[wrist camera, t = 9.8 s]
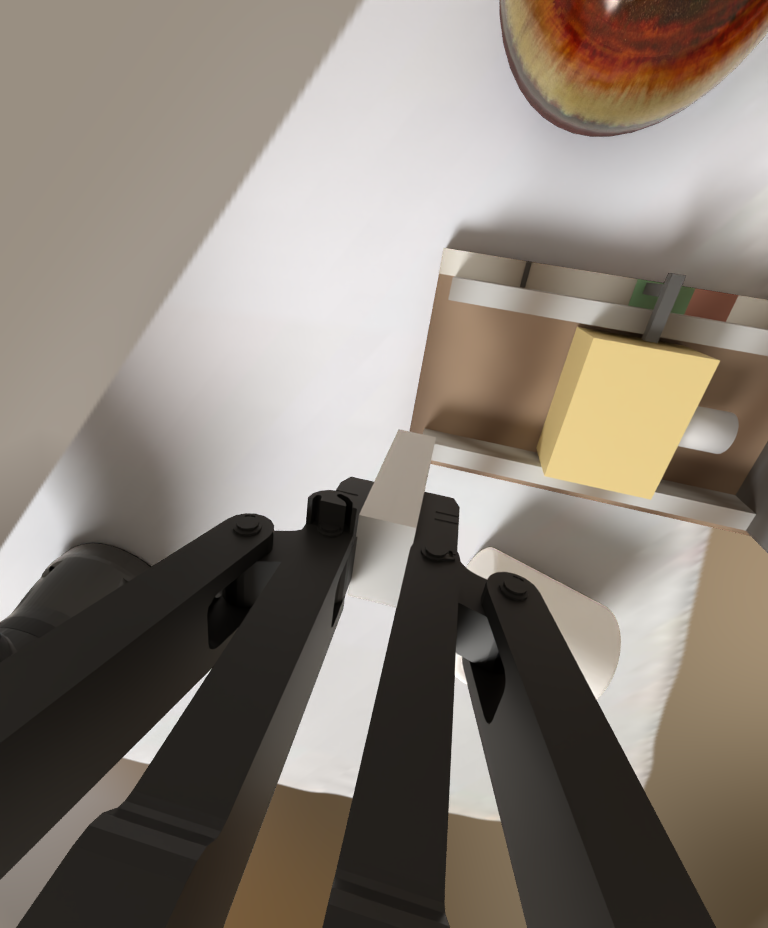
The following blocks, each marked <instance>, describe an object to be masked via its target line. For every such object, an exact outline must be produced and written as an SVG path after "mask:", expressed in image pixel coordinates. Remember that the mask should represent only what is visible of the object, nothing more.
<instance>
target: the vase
mask: <svg viewBox="0 0 768 928" xmlns="http://www.w3.org/2000/svg"><path fill="white" fill-rule="evenodd" d="M500 22H501V29H502V37H503V43H504V48H505V51H506V55H507V58H508V62H509V65H510V69H511V71H512V73H513V75H514V78H515V80H516V82H517V84H518V86H519V88H520V90H521V92H522V93H523V95H524V96H525V98H526V99H527V100H528V102H529V103H530V105H531V106H532V107H533V108H534V109H535V110H536V111H537V112H538V113H539V114H540V115H541V116H542V117H543V118H545V119H546V120H548V121H549V122H551V123H552V124H554V125H556V126H557V127H559V128H562V129H564V130H567V131H569V132H572V133H574V134H580V135H585V136H590V137H607V136H615V135H621V134H626V133H632V132H635V131H638V130H641V129H644V128H646V127H649V126H652V125H655V124H657V123H659V122H661V121H663V120H665V119H667V118H669V117H671V116H673V115H675V114H677V113H679V112H681V111H682V110H684V109H685V108H687V107H688V106H690V105H691V104H693V103H694V102H695V101H697V100H698V99H700V98H701V97H703V96H704V95H706V94H707V93H708V92H709V91H711V90H712V89H713V88H714V87H715V86H717V85H718V84H719V83H720V82H721V81H722V80H723V79H724V78H726V77H727V76H728V75H729V74H730V73H731V72H732V71H733V70H735V69H736V68H737V67H738V65H739V64H740V63H741V62H742V61H743V60H744V59H745V58H746V57H747V56H748V55H749V54H750V52H751V51H752V50H753V49H754V48H755V47H756V46H757V45H758V44H759V43H760V41H761V40H762V39H763V38H764V37H765V35H766V34H767V33H768V0H500Z"/></svg>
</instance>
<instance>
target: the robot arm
mask: <svg viewBox="0 0 768 928" xmlns="http://www.w3.org/2000/svg"><path fill="white" fill-rule="evenodd" d="M435 440H436V437H433V436H428V435H423V434H418V433H413V432H409V431H404V430H398V432H397V434H396V436H395V438H394V441H393V443H392V445H391V447H390V449H389V451H388V454H387V456H386V458H385V460H384V462H383V464H382V466H381V469H380V471H379V473H378V475H377V477H376V479H375V482H373V481H368V480H364V479H359V478H354V477H350V478H348V479H346V480H344V481H342V482H341V483H340V485H339V486H338V488H337V489H336V491H333V490H325V491H319V492H316V493H313V494H312V495H311V496H309V497H308V505H307V517H306V525H305V526H304V528H303V529H302V530H297V531H274V525H273V523H272V521H271V520H270V519H268V518H266V517H265V516H262V515H258V514H240V515H235V516H233V517H231V518H228V519H227V520H225V521H223V522H222V523H220V524H219V525H217V526H216V527H214V528H212V529H211V530H209V531H208V532H206V533H204V534H203V535H201V536H200V537H198V538H197V539H195V540H193V541H192V542H190V543H189V544H187V545H185V546H184V547H182V548H181V549H179V550H178V551H176V552H174V553H173V554H171V555H170V556H168V557H167V558H165V559H163V560H162V561H160V562H159V563H157V564H155V565H154V566H152V567H150V566H149V565H147V564H146V563H145V562H143V561H142V560H140V559H139V558H137V557H135V556H134V555H132V554H130V553H128V552H126V551H124V550H121V549H119V548H116V547H113V546H109V545H104V544H97V543H89V544H82V545H78V546H76V547H74V548H72V549H70V550H69V551H67V552H66V553H65V554H63V555H62V556H60V557H59V558H57V559H56V560H55V561H53V562H52V563H51V564H50V565H49V566H48V567H47V569H46V570H45V571H44V573H43V574H42V577H41V578H40V579H39V580H38V581H37V582H36V583H35V585H34V586H33V587H32V588H31V589H30V591H29V592H28V593H27V594H26V596H25V597H24V598H23V599H22V601H21V602H20V603H19V605H18V606H17V607H16V608H15V610H14V611H13V612H12V613H11V614H10V615H9V616H8V617H7V618H5V619H4V620H3V621H2V622H0V879H1V878H2V877H3V876H4V875H5V874H6V873H7V872H8V871H9V870H10V869H11V868H12V867H13V866H14V865H15V864H16V863H17V862H18V861H19V860H20V859H21V858H22V857H23V856H24V855H25V854H26V853H27V852H28V851H29V850H30V849H31V848H32V847H33V846H34V845H35V844H36V843H37V842H38V841H39V840H40V839H41V838H42V837H43V836H44V835H45V834H46V833H47V832H48V831H49V830H50V829H51V828H52V827H53V826H54V825H55V824H56V823H57V822H58V821H59V820H60V819H61V818H62V817H63V816H64V815H65V814H66V813H67V812H68V811H69V810H70V809H71V808H72V807H73V806H74V805H75V804H76V803H77V802H78V801H79V800H80V799H81V798H82V797H83V796H84V795H85V794H86V793H87V792H88V791H89V790H90V789H91V788H92V787H93V786H94V785H95V784H96V783H97V782H98V781H99V780H100V779H101V778H102V777H103V776H104V775H105V774H106V773H107V772H108V771H109V770H110V769H111V768H112V767H113V766H114V765H115V764H116V763H117V762H118V761H119V760H120V759H121V758H122V757H123V756H124V755H125V754H126V753H127V752H128V751H129V750H130V749H131V748H132V747H133V746H134V745H135V744H136V743H137V742H138V741H139V740H140V739H142V738H143V736H145V735H146V734H147V733H148V732H149V731H150V730H151V729H152V728H153V727H154V726H155V725H156V724H157V723H158V722H159V721H160V720H161V719H162V718H163V717H164V716H165V715H166V714H167V713H168V712H169V711H170V710H171V709H172V708H173V707H174V706H175V705H176V704H177V703H178V702H179V701H180V700H181V699H182V698H183V697H184V696H185V695H186V694H187V693H188V692H189V691H190V690H191V689H192V688H193V687H194V686H195V685H196V684H197V683H198V682H199V681H200V680H201V679H202V678H203V677H204V676H205V675H206V674H207V673H208V672H209V671H210V670H211V671H210V672H209V674H208V675H207V677H206V678H205V680H204V682H203V683H202V685H201V686H200V688H199V689H198V691H197V692H196V694H195V695H194V697H193V698H192V700H191V702H190V703H189V705H188V706H187V708H186V709H185V711H184V712H183V714H182V715H181V717H180V718H179V720H178V722H177V723H176V725H175V726H174V728H173V729H172V731H171V732H170V734H169V735H168V737H167V739H166V740H165V742H164V743H163V745H162V746H161V748H160V749H159V751H158V752H157V754H156V755H155V757H154V759H153V760H152V762H151V763H150V765H149V766H148V768H147V769H146V771H145V772H144V774H143V775H142V777H141V779H140V780H139V782H138V783H137V785H136V786H135V788H134V789H133V791H132V792H131V794H130V795H129V796H128V797H127V799H126V800H125V801H124V802H123V803H122V804H121V805H120V806H119V807H118V808H115V809H112V810H109V811H107V812H104V813H102V814H101V815H100V816H99V817H98V818H96V819H95V820H94V821H93V822H92V823H91V824H90V825H89V826H88V827H87V828H86V830H85V831H84V832H83V833H82V835H81V836H80V837H79V838H78V840H77V841H76V842H75V844H74V845H73V846H72V848H71V849H70V851H69V852H68V853H67V855H66V856H65V858H64V859H63V861H62V862H61V864H60V865H59V866H58V868H57V869H56V871H55V872H54V874H53V875H52V877H51V878H50V879H49V881H48V882H47V884H46V885H45V887H44V888H43V890H42V891H41V892H40V894H39V895H38V897H37V898H36V900H35V901H34V903H33V904H32V906H31V907H30V909H29V910H28V911H27V913H26V914H25V916H24V917H23V919H22V920H21V921H20V923H19V924H18V926H17V927H16V928H223V927H224V924H225V921H226V918H227V915H228V913H229V910H230V907H231V905H232V902H233V899H234V897H235V894H236V891H237V889H238V886H239V883H240V881H241V878H242V875H243V873H244V870H245V868H246V865H247V862H248V860H249V857H250V854H251V852H252V849H253V846H254V844H255V841H256V838H257V836H258V833H259V830H260V828H261V825H262V822H263V819H264V817H265V814H266V812H267V809H268V807H269V804H270V801H271V798H272V796H273V793H274V791H275V788H276V785H277V783H278V780H279V777H280V775H281V772H282V769H283V767H284V764H285V762H286V759H287V756H288V754H289V751H290V748H291V746H292V743H293V740H294V738H295V735H296V732H297V730H298V727H299V724H300V722H301V719H302V717H303V714H304V711H305V709H306V706H307V703H308V701H309V698H310V695H311V693H312V690H313V687H314V685H315V682H316V679H317V677H318V674H319V671H320V669H321V666H322V664H323V661H324V658H325V656H326V653H327V650H328V648H329V645H330V642H331V640H332V637H333V634H334V632H335V629H336V626H337V624H338V621H339V618H340V616H341V613H342V611H343V606H344V599H345V594H346V591H347V589H348V586H349V589H348V596H352V597H356V598H360V599H364V600H368V601H372V602H376V603H380V604H384V605H388V606H392V607H396V612H395V616H394V621H393V625H392V629H391V634H390V638H389V643H388V647H387V651H386V656H385V660H384V664H383V669H382V673H381V677H380V682H379V686H378V691H377V695H376V699H375V704H374V708H373V712H372V717H371V721H370V725H369V730H368V734H367V739H366V743H365V747H364V752H363V756H362V760H361V765H360V769H359V773H358V778H357V782H356V787H355V791H354V795H353V800H352V804H351V808H350V813H349V818H348V822H347V826H346V830H345V835H344V839H343V843H342V848H341V852H340V856H339V861H338V865H337V870H336V874H335V878H334V882H333V885H332V889H331V893H330V898H329V902H328V906H327V910H326V915H325V919H324V924H323V928H450V926H449V923H448V920H447V917H446V915H445V905H444V900H445V872H446V851H447V829H448V808H449V787H450V766H451V745H452V724H453V702H454V681H455V660H456V654H458V655H460V656H462V665H463V669H464V673H465V677H466V681H467V685H468V689H469V693H470V697H471V701H472V705H473V710H474V714H475V718H476V722H477V726H478V730H479V734H480V738H481V742H482V746H483V750H484V754H485V758H486V762H487V766H488V770H489V775H490V779H491V783H492V787H493V791H494V795H495V799H496V803H497V807H498V811H499V815H500V819H501V823H502V827H503V831H504V835H505V839H506V843H507V848H508V851H509V856H510V860H511V864H512V868H513V872H514V876H515V880H516V884H517V888H518V892H519V896H520V900H521V904H522V908H523V913H524V917H525V920H526V925H527V928H716V926H715V924H714V923H713V921H712V919H711V917H710V915H709V913H708V911H707V909H706V907H705V906H704V904H703V902H702V900H701V898H700V896H699V894H698V892H697V890H696V888H695V886H694V884H693V883H692V881H691V879H690V877H689V875H688V873H687V871H686V869H685V867H684V865H683V864H682V862H681V860H680V858H679V856H678V854H677V852H676V850H675V848H674V846H673V845H672V843H671V841H670V839H669V837H668V835H667V833H666V831H665V830H664V827H663V826H662V824H661V822H660V820H659V818H658V816H657V815H656V812H655V810H654V808H653V807H652V805H651V803H650V801H649V799H648V797H647V795H646V793H645V791H644V789H643V787H642V786H641V784H640V782H639V780H638V778H637V776H636V774H635V772H634V770H633V768H632V767H631V765H630V763H629V761H628V759H627V757H626V755H625V753H624V751H623V749H622V748H621V746H620V744H619V742H618V740H617V738H616V736H615V734H614V732H613V730H612V729H611V727H610V725H609V723H608V721H607V719H606V717H605V715H604V713H603V711H602V710H601V708H600V706H599V704H598V702H597V700H596V698H595V696H594V694H593V692H592V690H591V689H590V687H589V685H588V683H587V681H586V679H585V677H584V675H583V673H582V671H581V670H580V668H579V666H578V664H577V662H576V660H575V658H574V656H573V654H572V652H571V651H570V649H569V647H568V645H567V643H566V641H565V639H564V637H563V635H562V633H561V632H560V630H559V628H558V626H557V624H556V622H555V620H554V618H553V616H552V614H551V612H550V611H549V609H548V607H547V605H546V603H545V601H544V599H543V597H542V595H541V593H540V592H539V590H538V589H537V588H536V587H535V585H534V584H532V583H531V582H530V581H528V580H527V579H526V578H524V577H521V576H519V575H517V574H514V573H509V572H496V573H494V574H492V575H490V576H489V577H488V579H485V578H483V577H481V576H479V575H477V574H475V573H473V572H471V571H470V570H468V569H467V568H466V567H465V566H464V565H463V564H462V563H461V562H460V557H459V553H458V552H457V544H458V524H459V506H458V504H457V503H456V501H455V500H454V498H450V497H445V496H441V495H436V494H432V493H427V492H424V491H425V486H426V482H427V477H428V473H429V468H430V463H431V459H432V454H433V449H434V445H435Z"/></svg>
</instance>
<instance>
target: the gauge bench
mask: <svg viewBox="0 0 768 928" xmlns="http://www.w3.org/2000/svg"><path fill="white" fill-rule="evenodd" d="M647 282H648V283H658V284H664V283H660V282H654V281H647V280H641V279H635V278H628V277H622V276H616V275H610V274H604V273H597V272H591V271H585V270H579V269H573V268H566V267H560V266H554V265H548V264H541V263H535V262H529V261H523V260H517V259H510V258H504V257H498V256H492V255H485V254H479V253H473V252H467V251H461V250H454V249H448V248H444V249H443V254H442V259H441V265H440V270H439V277H438V282H437V288H436V293H435V298H434V304H433V309H432V314H431V320H430V325H429V330H428V336H427V341H426V347H425V352H424V357H423V363H422V368H421V373H420V379H419V384H418V389H417V395H416V400H415V405H414V411H413V416H412V421H411V427H410V432H413V433H418V434H423V435H428V436H433V437H436V440H435V445H434V449H433V454H432V459H431V463H430V464H434V465H438V466H443V467H447V468H452V469H456V470H460V471H465V472H469V473H474V474H478V475H483V476H487V477H492V478H496V479H500V480H505V481H509V482H514V483H518V484H523V485H527V486H531V487H536V488H540V489H545V490H549V491H554V492H558V493H562V494H567V495H571V496H576V497H580V498H585V499H589V500H594V501H598V502H602V503H607V504H611V505H616V506H620V507H625V508H629V509H633V510H638V511H642V512H647V513H651V514H656V515H660V516H665V517H669V518H673V519H678V520H682V521H687V522H691V523H696V524H700V525H704V526H709V527H713V528H718V529H722V530H727V531H731V532H736V533H740V534H745V535H749V536H752V538H753V539H754V540H755V541H756V542H757V543H758V544H759V545H760V546H761V547H762V548H763V549H764V550H765V551H766V552H767V553H768V300H765V299H759V298H753V297H747V296H740V295H734V294H728V293H722V292H716V291H710V290H703V289H697V288H691V287H685V286H681V289H680V291H679V294H678V296H677V298H676V301H675V303H674V305H673V308H672V310H671V312H670V315H669V317H668V319H667V322H666V324H665V327H664V329H663V331H662V334H661V336H660V338H659V341H660V342H666V343H672V344H677V345H683V346H686V347H688V348H691V349H693V350H695V351H698V352H700V353H703V354H705V355H708V356H710V357H713V358H715V359H718V360H720V362H719V364H718V366H717V368H716V370H715V372H714V374H713V376H712V378H711V380H710V382H709V384H708V386H707V388H706V390H705V393H704V395H703V397H702V399H701V401H700V403H699V405H698V406H700V407H706V408H711V409H716V410H721V411H726V412H731V413H734V414H735V415H736V416H737V418H738V423H739V427H738V432H737V435H736V438H735V440H734V442H733V443H732V445H731V446H730V447H729V448H728V449H727V450H726V451H725V452H723V453H720V454H714V453H710V452H705V451H700V450H695V449H690V448H685V447H680V446H678V447H677V449H676V451H675V453H674V455H673V457H672V459H671V461H670V463H669V465H668V467H667V469H666V471H665V473H664V475H663V477H662V479H661V481H660V483H659V485H658V487H657V489H656V491H655V493H654V495H653V497H652V499H651V500H650V499H645V498H641V497H636V496H632V495H627V494H623V493H618V492H614V491H609V490H605V489H600V488H596V487H591V486H587V485H582V484H577V483H573V482H568V481H564V480H559V479H555V478H550V477H546V476H544V473H543V470H542V466H541V463H540V459H539V456H538V452H537V449H536V447H537V444H538V441H539V438H540V435H541V432H542V429H543V426H544V423H545V420H546V417H547V414H548V412H549V409H550V406H551V403H552V400H553V397H554V394H555V391H556V388H557V385H558V382H559V379H560V376H561V373H562V370H563V367H564V364H565V361H566V358H567V355H568V352H569V349H570V346H571V343H572V340H573V337H574V334H575V331H576V328H577V327H581V328H587V329H593V330H598V331H604V332H609V333H615V334H621V335H626V336H632V337H638V338H642V337H643V334H644V332H645V329H646V327H647V324H648V322H649V319H650V317H651V314H652V312H653V309H654V307H655V305H656V302H657V300H658V297H656V296H651V295H645V294H643V291H644V289H645V286H646V283H647Z"/></svg>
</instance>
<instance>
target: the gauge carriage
mask: <svg viewBox="0 0 768 928" xmlns="http://www.w3.org/2000/svg"><path fill="white" fill-rule="evenodd" d="M685 277H686V275H679V274H673V273H668V275H667V277H666V280H665V282H664V284H658V283H648V282H647V283H646V286H645V289H644V291H643V294H645V295H651V296H656V297H658V300H657V302H656V305H655V307H654V309H653V312H652V314H651V317H650V319H649V322H648V324H647V327H646V329H645V332H644V334H643V337H642V338H638V337H632V336H626V335H621V334H615V333H609V332H604V331H598V330H593V329H587V328H581V327H577V328H576V331H575V334H574V337H573V340H572V343H571V346H570V349H569V352H568V355H567V358H566V361H565V364H564V367H563V370H562V373H561V376H560V379H559V382H558V385H557V388H556V391H555V394H554V397H553V400H552V403H551V406H550V409H549V412H548V414H547V417H546V420H545V423H544V426H543V429H542V432H541V435H540V438H539V441H538V444H537V447H536V449H537V452H538V456H539V459H540V463H541V466H542V470H543V473H544V476H546V477H550V478H555V479H559V480H564V481H568V482H573V483H577V484H582V485H587V486H591V487H596V488H600V489H605V490H609V491H614V492H618V493H623V494H627V495H632V496H636V497H641V498H645V499H650V500H651V499H652V497H653V495H654V493H655V491H656V489H657V487H658V485H659V483H660V481H661V479H662V477H663V475H664V473H665V471H666V469H667V467H668V465H669V463H670V461H671V459H672V457H673V455H674V453H675V451H676V449H677V447H678V446H680V447H685V448H690V449H695V450H700V451H705V452H710V453H714V454H720V453H723V452H725V451H726V450H727V449H728V448H729V447H730V446H731V445H732V443H733V442H734V440H735V438H736V435H737V432H738V427H739V423H738V418H737V416H736V415H735V414H734V413H731V412H726V411H721V410H716V409H711V408H706V407H700V406H698V405H699V403H700V401H701V399H702V397H703V395H704V393H705V390H706V388H707V386H708V384H709V382H710V380H711V378H712V376H713V374H714V372H715V370H716V368H717V366H718V364H719V362H720V360H718V359H715V358H713V357H710V356H708V355H705V354H703V353H700V352H698V351H695V350H693V349H691V348H688V347H686V346H683V345H677V344H672V343H666V342H660V341H659V338H660V336H661V334H662V331H663V329H664V327H665V324H666V322H667V319H668V317H669V315H670V312H671V310H672V308H673V305H674V303H675V301H676V298H677V296H678V294H679V291H680V289H681V286H682V284H683V282H684V279H685Z"/></svg>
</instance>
